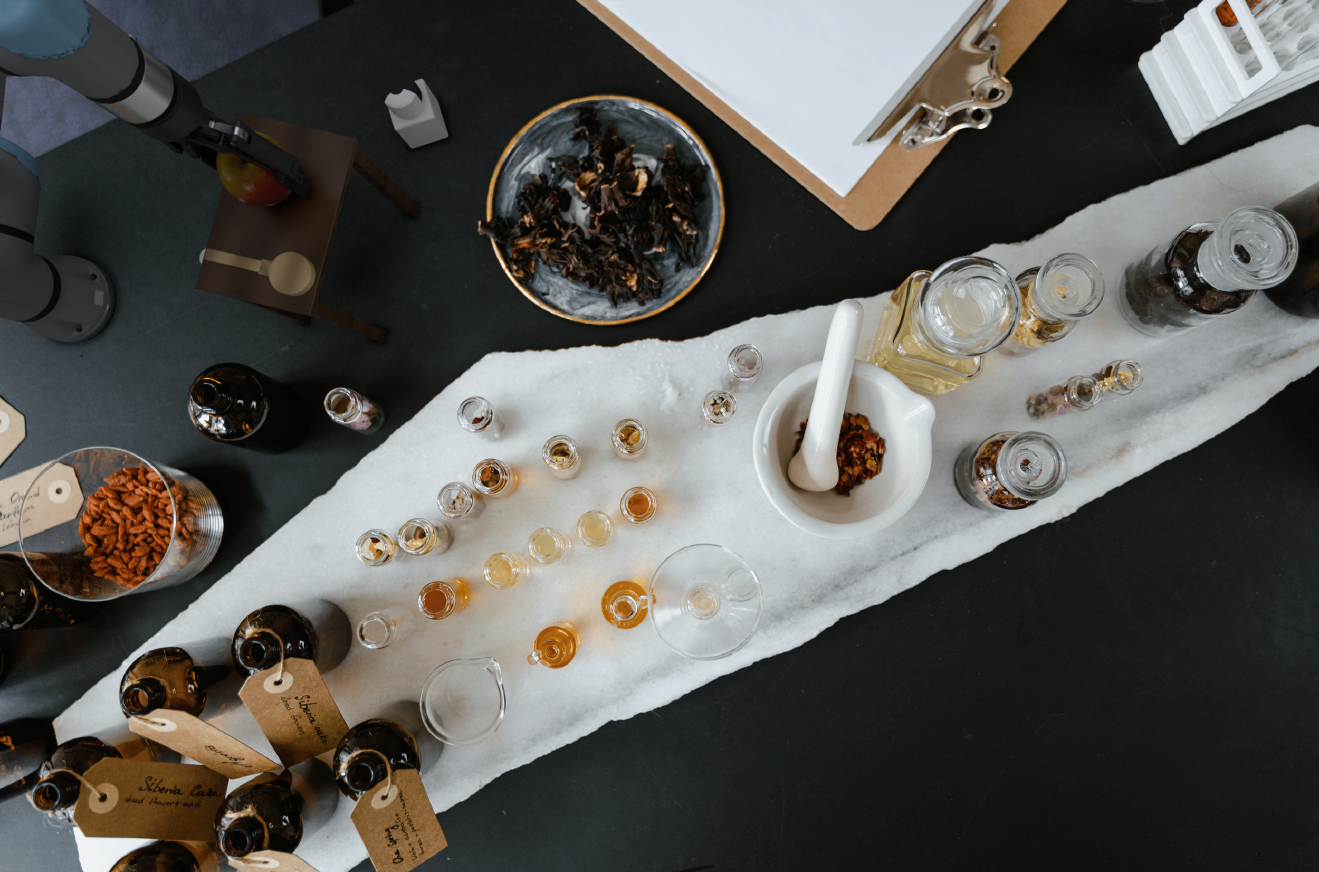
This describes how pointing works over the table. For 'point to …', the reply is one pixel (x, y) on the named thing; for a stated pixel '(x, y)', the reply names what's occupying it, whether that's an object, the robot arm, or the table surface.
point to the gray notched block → (413, 109)
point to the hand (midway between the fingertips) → (273, 181)
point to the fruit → (250, 179)
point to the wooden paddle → (273, 269)
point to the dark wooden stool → (294, 224)
